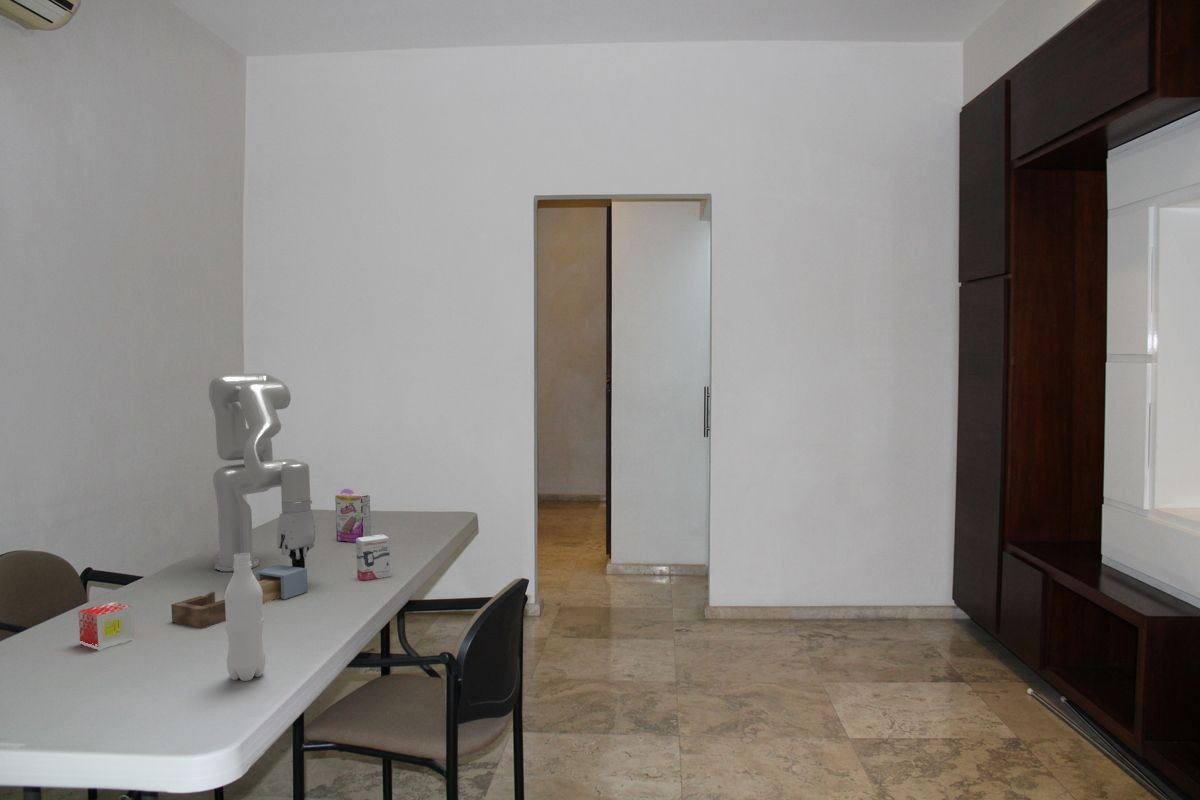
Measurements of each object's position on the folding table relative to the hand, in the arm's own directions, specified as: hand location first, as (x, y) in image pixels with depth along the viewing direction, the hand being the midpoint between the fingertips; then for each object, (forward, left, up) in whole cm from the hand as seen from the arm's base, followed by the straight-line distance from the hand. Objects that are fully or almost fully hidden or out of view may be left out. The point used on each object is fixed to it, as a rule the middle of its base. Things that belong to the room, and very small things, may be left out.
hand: (298, 572), depth 237 cm
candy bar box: (-29, +52, -5) cm, 60 cm away
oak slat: (0, -13, -5) cm, 14 cm away
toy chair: (-45, +68, -5) cm, 82 cm away
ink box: (+11, +18, -5) cm, 22 cm away
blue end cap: (0, -6, -5) cm, 7 cm away
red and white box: (-6, -51, -5) cm, 52 cm away
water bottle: (+41, -52, -5) cm, 67 cm away
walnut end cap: (0, -29, -5) cm, 30 cm away
